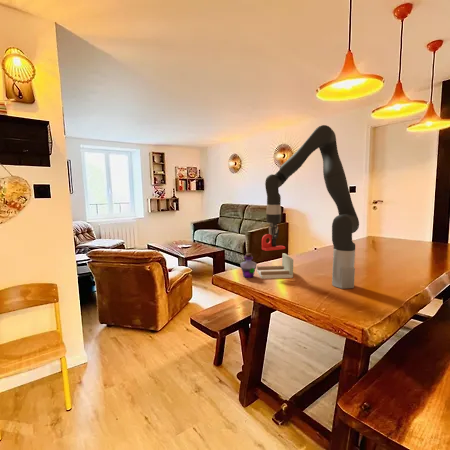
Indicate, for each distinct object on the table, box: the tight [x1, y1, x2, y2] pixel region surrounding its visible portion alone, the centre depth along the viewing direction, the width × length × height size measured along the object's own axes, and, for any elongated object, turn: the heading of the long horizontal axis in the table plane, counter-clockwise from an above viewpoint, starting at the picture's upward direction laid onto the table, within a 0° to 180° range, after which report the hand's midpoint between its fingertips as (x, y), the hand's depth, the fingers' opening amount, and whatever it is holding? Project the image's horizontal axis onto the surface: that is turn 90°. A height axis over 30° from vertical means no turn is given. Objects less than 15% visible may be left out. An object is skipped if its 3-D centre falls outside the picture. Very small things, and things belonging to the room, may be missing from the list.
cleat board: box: [255, 252, 294, 280], centre depth 151 cm, size 14×16×10 cm
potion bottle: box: [240, 252, 258, 279], centre depth 147 cm, size 9×9×12 cm
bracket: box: [261, 233, 286, 252], centre depth 150 cm, size 12×4×8 cm, turn 111°
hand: (273, 245), depth 152 cm, fingers closed on bracket, 1 cm apart
